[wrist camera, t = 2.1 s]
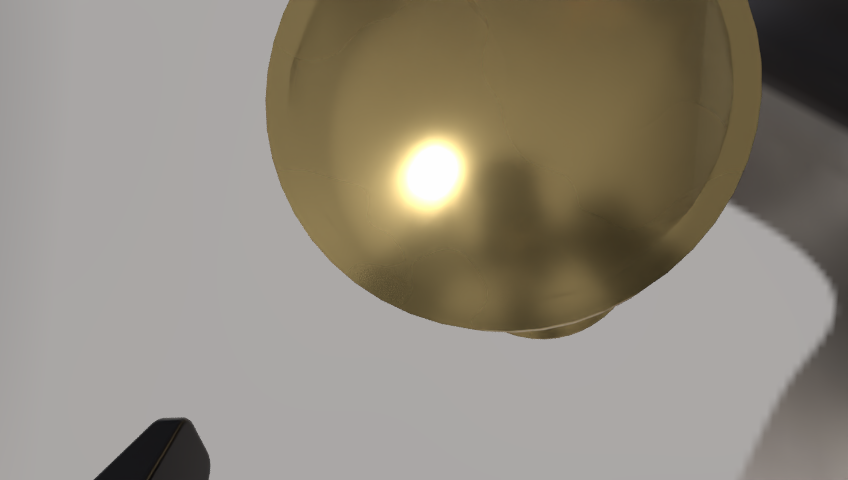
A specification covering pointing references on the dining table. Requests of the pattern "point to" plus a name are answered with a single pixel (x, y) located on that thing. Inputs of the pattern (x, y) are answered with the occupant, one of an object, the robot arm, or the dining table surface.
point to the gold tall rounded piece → (511, 147)
